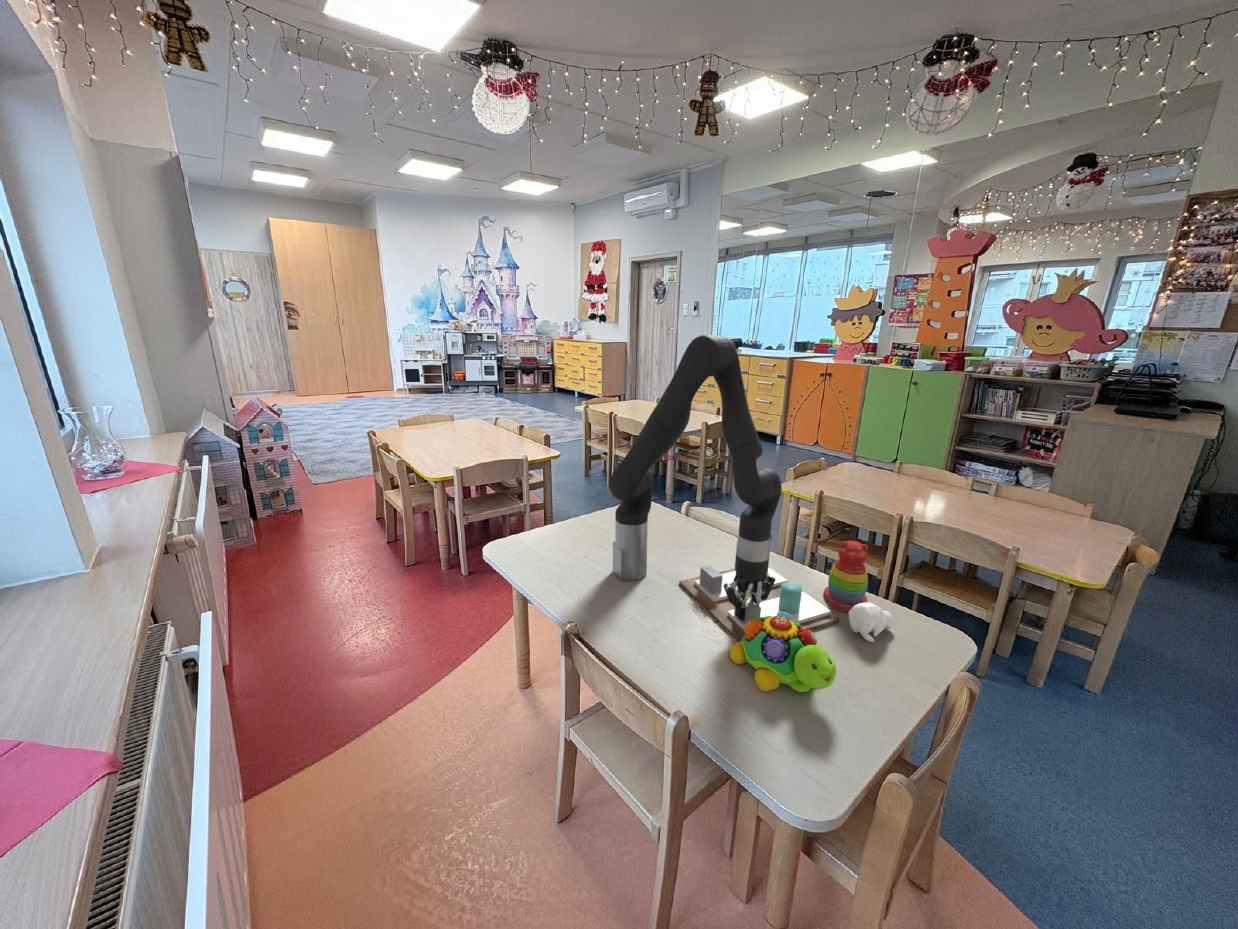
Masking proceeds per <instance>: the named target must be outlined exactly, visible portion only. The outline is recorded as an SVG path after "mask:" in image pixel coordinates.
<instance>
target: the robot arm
mask: <svg viewBox="0 0 1238 929" xmlns="http://www.w3.org/2000/svg"><path fill="white" fill-rule="evenodd" d="M709 377H713V378H714V381H715V383H716V385H717V387H718V390H719V393H720V397H721V398H720V399H721V408H722V409H721V427H722V428H721V430H722V432H723V433H722V434H723V436H724V440H725V443H726V444H727V448H728V450H729V451H728V452H729V454H730V456H731V467H732V478H733V479H732V480H733V487H734V490H735V492H736V494H737V497H738V498H739V499H740V501H742V502H743V503H744V504H746V505H748V506H747V507H746V508H745V509H743V510H742V512H741V513H740V515H739V516H740V517H739V527H738V536H737V541H736V550H735V559H734V560H735V562H734V569H735V571H736V576H735V578H734V582H732V583H731V584H729V585H728V584H727V583H726V584H724V589H725V591H726V594H727V597H728V599H729V602H730V603H731V604H733V605H734V606H735V607H736V616H737V618H738V619H740V620H741V621H743V620H745V609H746V608H745V606H746V602H747V600H748V599H749V596H750V593H751V599H752V600H753V601H754V602H755V603H756V604H757V605H759V604H760V603H761V601H762V600H766V599H767V598H768V596H769V594H770V591H771V589H772V587H773V585H774V583H775V580H776V579H775V578H774V577H773V576H771V575H770V574H768V567H769V565H770V553H771V534H772V533H771V532H772V521H773V518H774V516H775V513H776V511H777V509H778V508H777V507H778V506H779V502H780V499H781V496H782V490H783V488H782V486H783V485H782V481H781V477H780V475H779V474H778V473H777V471H775V470H774V469H772V468H767V467H765V468H760V469H758V468H757V460H758V459H759V458H760V457H762V455H763V452H764V451H763V450H764V449H763V446H762V443H761V440H760V438H759V435H758V432H757V429H756V427H755V423H754V420H753V417H752V414H751V411H750V407H749V403H748V399H747V395H746V390H745V389H746V388H745V385H744V380H743V375H742V369H741V364H740V359H739V353H738V349H737V346H736V345H735V343H734V342H733V340H732V339H730V338H729V337H727V336H724V335H716V334H715V335H714V334H702V335H698V336H696V337H694V339H692V340H691V341H690V343H689V344H688V346H687V347H686V349H685V351H684V353H683V355H682V357H681V359H680V361H679V363H678V366H677V367H676V370H675V372H674V374H673V376H672V378H671V380H670V382H669V383H668V385H667V387H666V389H665V391H664V392H663V394H662V396H661V398H660V399H659V401H658V403H656V406H655V407H654V408H653V410H652V412H651V413H650V415H649V416H648V418H647V419H646V422H645V424H644V425H643V427H642V429H641V431H640V432H639V434H638V436H637V438H636V439H635V441H634V442H633V444H632V446H631V447H630V449H629V451H628V452H627V454H626V455H625V456H624V458H623V459H622V461H620V463H619V464H618V465H617V466H616V468H615V469H614V470H613V472H612V473H611V476H610V479H609V491H610V493H611V495H612V496H613V497H614V498H615V499H616V500H618V501H621V503H620V504H619V505H618V506H617V508H616V509H615V514H614V515H615V523H614V524H615V527H614V528H615V534H614V535H615V538H614V540H615V541H613V542H612V572H613V573H614V574H615V576H616V577H617V578H618V579H619V581H638V580H642V579H643V578H645V577H646V575H647V573H648V572H647V571H648V569H647V568H648V565H647V564H648V529H649V527H648V525H649V524H648V522H649V520H648V519H649V513H650V512H651V508H652V498H653V477H652V473H651V471H650V469H651V468H652V467H653V466H654V464H656V463H657V462H658V461H659V460H661V458H663V457H664V456H665V455H666V454H667V453H668V452H669V451H670V450H671V449H672V448H673V447H674V446H675V444H676V443H678V440H679V439H680V438H681V436H682V434H683V433H684V431H685V430H686V429H687V426H688V424H689V421H690V418H691V411H692V410H691V409H692V402H693V400H694V397H695V395H696V394H697V392H698V391H699V389H700V388H701V387H702V385H703V383H705V381H706V380H707V379H708V378H709ZM736 587H737V590H736ZM764 589H765V592H764V593H763V591H764ZM735 593H736V594H737V596H736V594H735ZM741 598H742V600H741Z"/></svg>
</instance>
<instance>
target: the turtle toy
mask: <svg viewBox="0 0 1238 929" xmlns="http://www.w3.org/2000/svg"><path fill="white" fill-rule="evenodd" d="M743 630H744V632H745V635H744V637H743V638H742V641H741V642H736V643H733V644H732V645H731V646H730V648H729V654H730V658H731V661H733V662H734V663H735V664H736V665H742V664H747V663H749V664H750V665H751V667H753V668H754V669H755V670H756V671H755V673H754V681H755V683H756V684H755V685H756V686H757V688H759V689H760V690H761V691H763V692H770V691H772V690H775V689H778V688H779V686H780V684H782V685H783V684H784V685H788V686H789V687H790V688H791V689H793V690H794V691H796V692H800V693H803V692H805V693H806V692H807V691H809V690H810V689H811V688H812V689H817V690H822V689H826V688H829V687H830V686H832V684H833V683H834V682H835V678H836V674H837V665H836V663H835V661H834V659H832V657H831V656H830V655H829V654H828V652H827V651H826V650H825V649H824V648H822V647H821V646H819V645H817V644H818V639H817V637H816V635H815V633H814V631H813V630H812V631H811V630H805V631H804V629H803V628H802V627H801V626H800V625H799V624H798V623H796V622H792V616H791V615H790V614H789V613H786V612H778V613H777V615H776V616H773V617H772V616H765V617H760V618H758V619H757V620H756V621H755V620H752V619H751V620H749V621H748V622H747V623H746V624H745V625H744V627H743Z"/></svg>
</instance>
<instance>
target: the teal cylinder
mask: <svg viewBox="0 0 1238 929" xmlns="http://www.w3.org/2000/svg"><path fill="white" fill-rule="evenodd" d="M802 591H803V588H802V586H801V585H799V583H798V584H797V583H794V582H788V581H787V582H785V583H783V584H781V590H780V599H779V609H780V610H781V611H782V612H786V613H789V614H797V613H798V612H799V610H800V602H801V594H802Z"/></svg>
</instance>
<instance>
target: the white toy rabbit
mask: <svg viewBox="0 0 1238 929" xmlns="http://www.w3.org/2000/svg"><path fill="white" fill-rule="evenodd" d="M893 620H894V618H893V616H892V614H891V613H890V612H889V611H887V610H882V608H881V607H880V606H878V605H877V604H874V603H872V602H870V601H867V602H865V603H859V604H857V605H855V606H854V607H853V608H852V609H851V610H850V611H849V612H848V622H849V625H850V629H851V630H852V631H853V633H855V634H856V633H860V635H861V636H862V637H863V638H864V640H865V641H868V642H870V643H874V642H875V639H874V638H873V637H877V636H878V635H879V634H880V633H881V632H882V631H883V630H886V631H888V630H889V629H892V627H891V625H892V623H893ZM872 629H874V631H873V637H872V635H871V634H869V633H870V632H872Z"/></svg>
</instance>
